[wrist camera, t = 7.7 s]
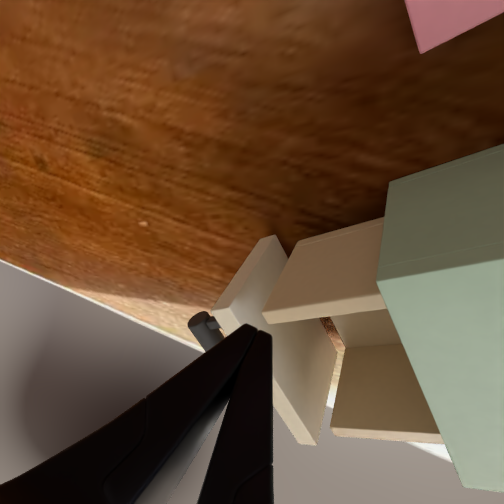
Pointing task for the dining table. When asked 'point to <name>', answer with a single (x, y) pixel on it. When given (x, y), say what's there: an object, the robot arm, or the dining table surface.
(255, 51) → the dining table surface
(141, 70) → the dining table surface
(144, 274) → the dining table surface
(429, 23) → the block
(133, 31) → the dining table surface
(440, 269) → the cabinet
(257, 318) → the drawer
